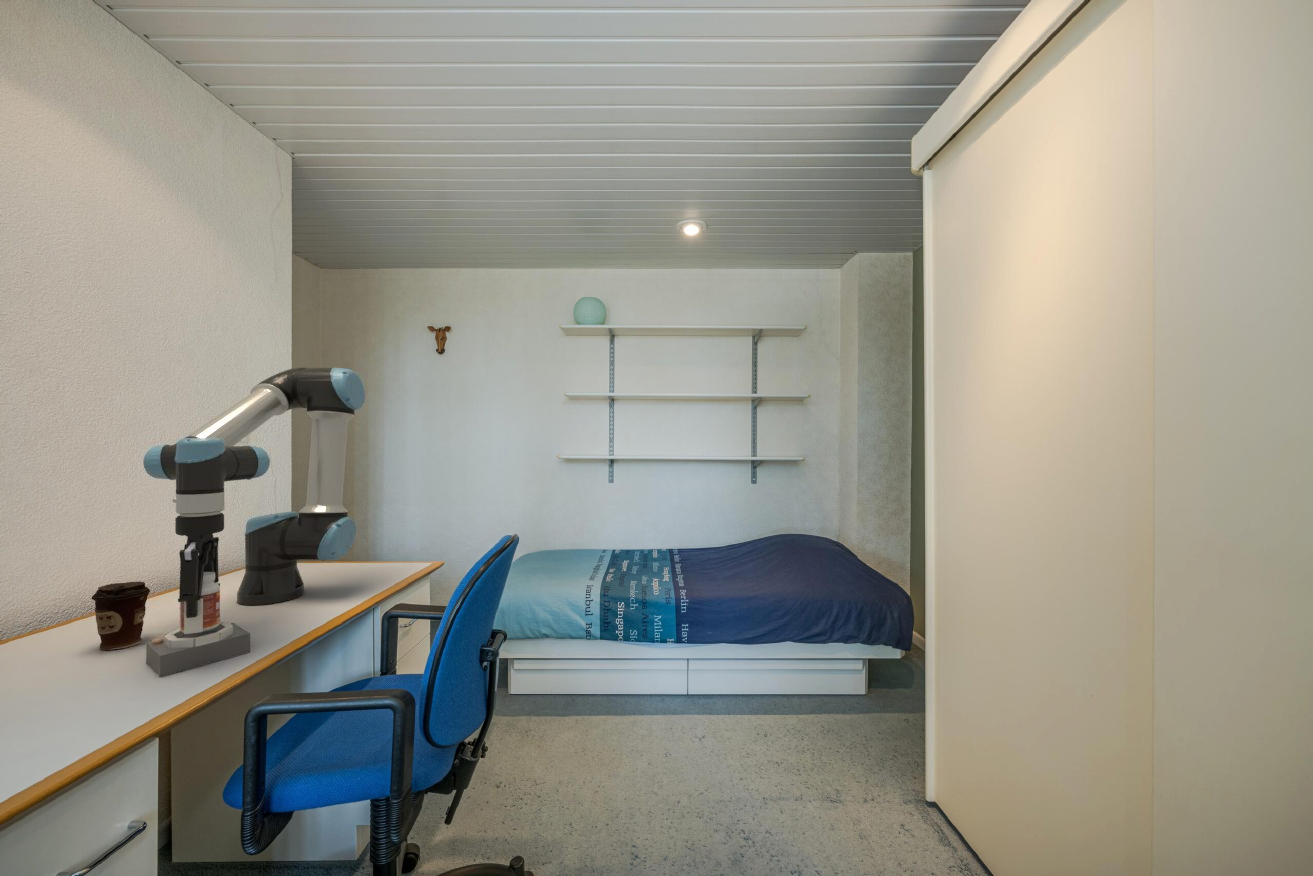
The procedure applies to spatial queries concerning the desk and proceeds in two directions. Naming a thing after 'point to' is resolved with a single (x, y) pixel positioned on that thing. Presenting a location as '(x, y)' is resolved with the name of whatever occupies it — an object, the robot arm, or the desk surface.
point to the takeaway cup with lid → (120, 614)
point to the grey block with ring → (196, 648)
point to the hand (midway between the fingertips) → (199, 626)
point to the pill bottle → (207, 603)
